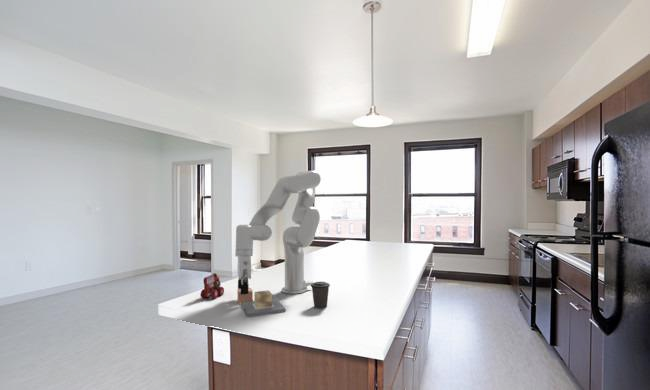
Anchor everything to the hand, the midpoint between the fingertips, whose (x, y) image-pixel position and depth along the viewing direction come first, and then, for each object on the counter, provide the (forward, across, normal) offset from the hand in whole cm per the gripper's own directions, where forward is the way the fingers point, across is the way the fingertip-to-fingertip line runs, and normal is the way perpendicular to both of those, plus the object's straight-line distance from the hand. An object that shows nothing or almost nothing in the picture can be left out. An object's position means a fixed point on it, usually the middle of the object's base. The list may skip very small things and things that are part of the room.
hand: (242, 291), depth 140 cm
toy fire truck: (+5, +13, +12) cm, 19 cm away
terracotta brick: (+5, 0, -1) cm, 5 cm away
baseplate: (+4, -13, -7) cm, 15 cm away
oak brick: (+3, -13, -6) cm, 15 cm away
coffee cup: (+4, -21, -29) cm, 36 cm away
